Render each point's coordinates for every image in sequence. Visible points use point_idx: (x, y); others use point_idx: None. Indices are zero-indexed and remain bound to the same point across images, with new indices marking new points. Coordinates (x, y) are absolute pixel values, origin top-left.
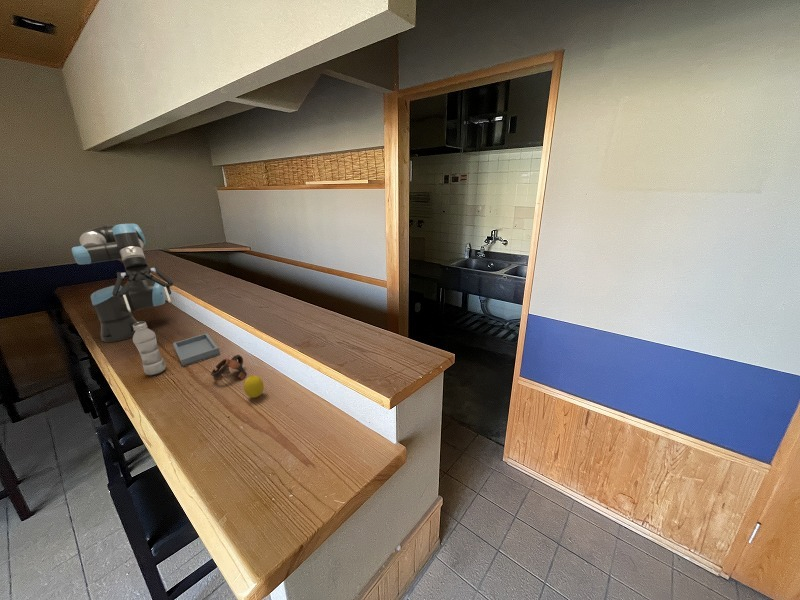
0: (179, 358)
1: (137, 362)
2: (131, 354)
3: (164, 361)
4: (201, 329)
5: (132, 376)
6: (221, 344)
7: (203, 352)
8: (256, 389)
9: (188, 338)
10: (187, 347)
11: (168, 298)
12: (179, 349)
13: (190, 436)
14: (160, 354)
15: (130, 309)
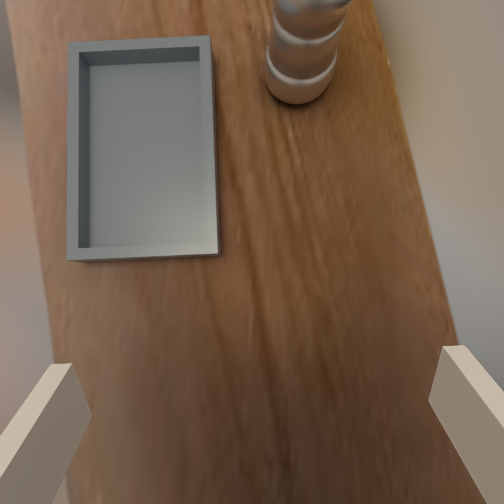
0: (214, 114)
1: (355, 232)
2: (379, 344)
3: (263, 63)
4: None
5: (369, 113)
6: (56, 157)
7: (126, 43)
8: None
9: (150, 255)
10: (173, 207)
11: (48, 391)
12: (204, 210)
13: None
14: (270, 36)
15: (440, 399)
